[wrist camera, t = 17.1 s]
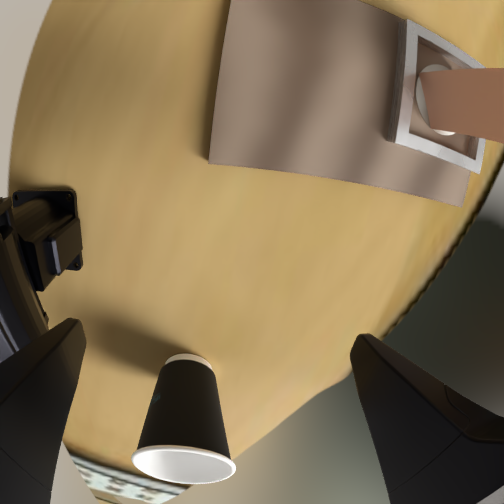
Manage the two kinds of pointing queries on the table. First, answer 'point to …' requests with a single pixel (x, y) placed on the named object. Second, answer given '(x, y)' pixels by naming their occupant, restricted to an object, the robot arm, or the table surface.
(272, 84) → the board
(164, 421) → the dixie cup
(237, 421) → the table surface
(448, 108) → the terracotta pin
